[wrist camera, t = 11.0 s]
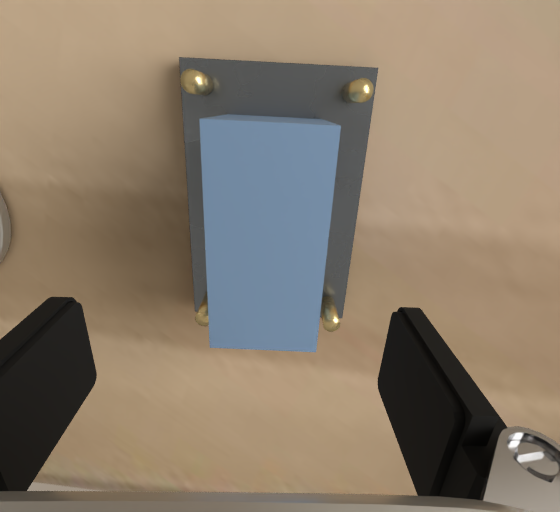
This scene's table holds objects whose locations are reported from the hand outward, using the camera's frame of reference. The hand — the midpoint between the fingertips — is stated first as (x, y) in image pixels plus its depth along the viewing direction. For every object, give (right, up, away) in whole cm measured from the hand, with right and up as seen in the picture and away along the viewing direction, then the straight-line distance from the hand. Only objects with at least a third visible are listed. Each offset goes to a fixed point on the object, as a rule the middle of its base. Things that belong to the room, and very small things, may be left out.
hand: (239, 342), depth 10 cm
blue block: (+1, +6, +14) cm, 15 cm away
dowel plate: (+1, +7, +15) cm, 16 cm away
